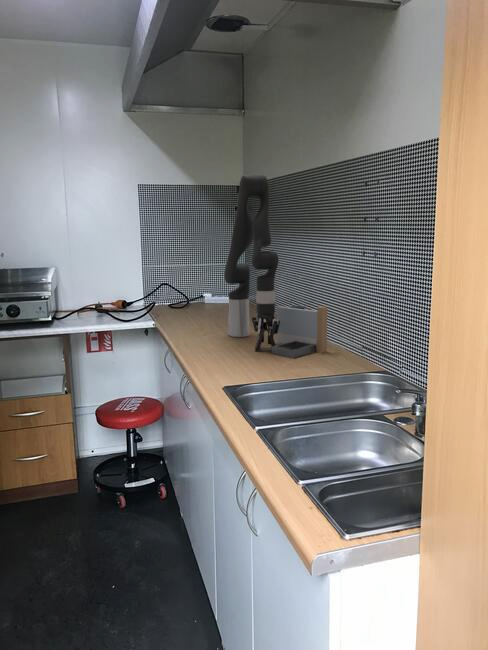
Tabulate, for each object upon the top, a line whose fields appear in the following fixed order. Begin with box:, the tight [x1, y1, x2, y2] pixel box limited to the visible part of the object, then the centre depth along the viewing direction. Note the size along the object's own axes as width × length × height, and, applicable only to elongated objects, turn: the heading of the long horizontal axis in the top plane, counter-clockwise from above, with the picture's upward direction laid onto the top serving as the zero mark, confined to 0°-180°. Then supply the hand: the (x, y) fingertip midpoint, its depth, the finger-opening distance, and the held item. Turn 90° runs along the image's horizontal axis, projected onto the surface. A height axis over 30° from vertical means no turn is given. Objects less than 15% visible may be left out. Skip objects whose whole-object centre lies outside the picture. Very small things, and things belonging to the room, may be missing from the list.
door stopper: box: [254, 322, 277, 353], centre depth 215 cm, size 9×6×12 cm, turn 89°
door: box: [276, 305, 328, 354], centre depth 217 cm, size 24×3×18 cm, turn 45°
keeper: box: [271, 341, 317, 359], centre depth 210 cm, size 11×14×3 cm
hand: (266, 343), depth 215 cm, fingers closed on door stopper, 4 cm apart
